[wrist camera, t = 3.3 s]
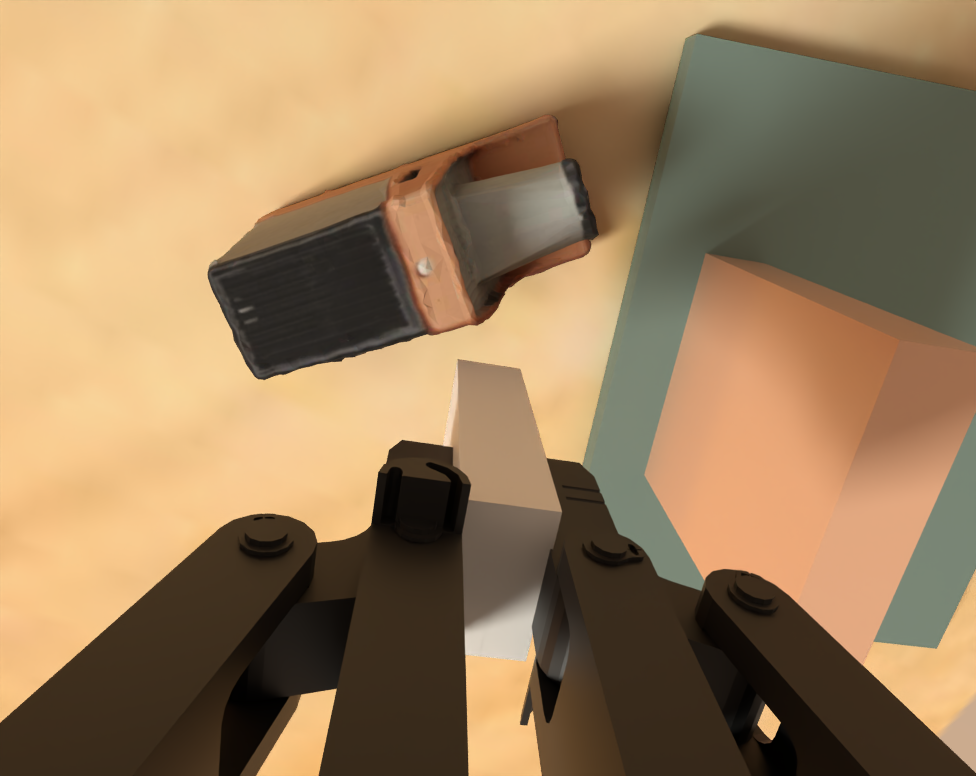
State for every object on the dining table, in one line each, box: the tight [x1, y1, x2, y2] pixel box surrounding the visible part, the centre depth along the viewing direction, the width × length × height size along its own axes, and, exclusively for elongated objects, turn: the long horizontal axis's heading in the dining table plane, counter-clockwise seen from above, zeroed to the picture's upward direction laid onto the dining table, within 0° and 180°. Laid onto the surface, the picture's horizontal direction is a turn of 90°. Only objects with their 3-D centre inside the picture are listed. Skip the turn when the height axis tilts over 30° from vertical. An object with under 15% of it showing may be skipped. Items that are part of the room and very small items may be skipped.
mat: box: [583, 34, 976, 649], centre depth 24 cm, size 20×16×1 cm
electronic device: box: [208, 115, 599, 380], centre depth 18 cm, size 4×10×8 cm, turn 108°
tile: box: [644, 253, 976, 665], centre depth 18 cm, size 8×2×10 cm, turn 170°
